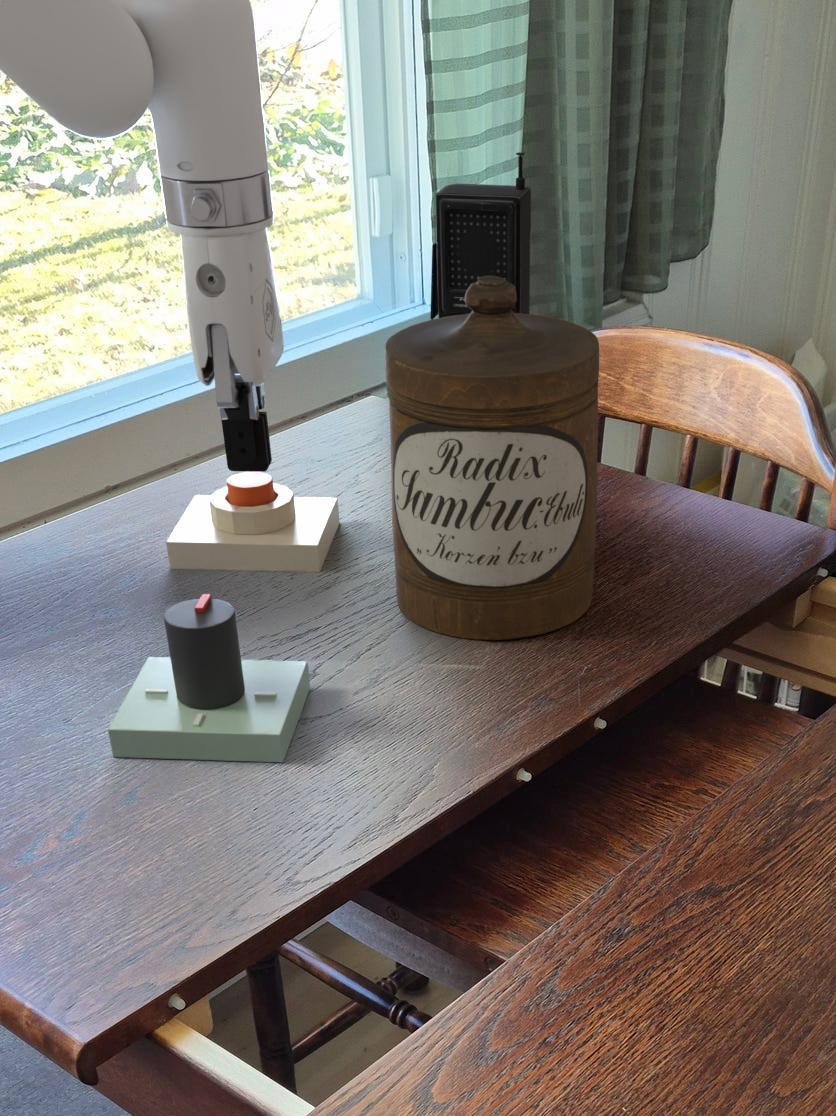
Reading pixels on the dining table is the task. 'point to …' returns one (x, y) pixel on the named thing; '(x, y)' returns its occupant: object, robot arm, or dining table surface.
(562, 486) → the wooden container
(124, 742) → the panel
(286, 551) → the block
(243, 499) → the button
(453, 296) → the portable radio
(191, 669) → the dial
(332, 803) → the dining table surface
